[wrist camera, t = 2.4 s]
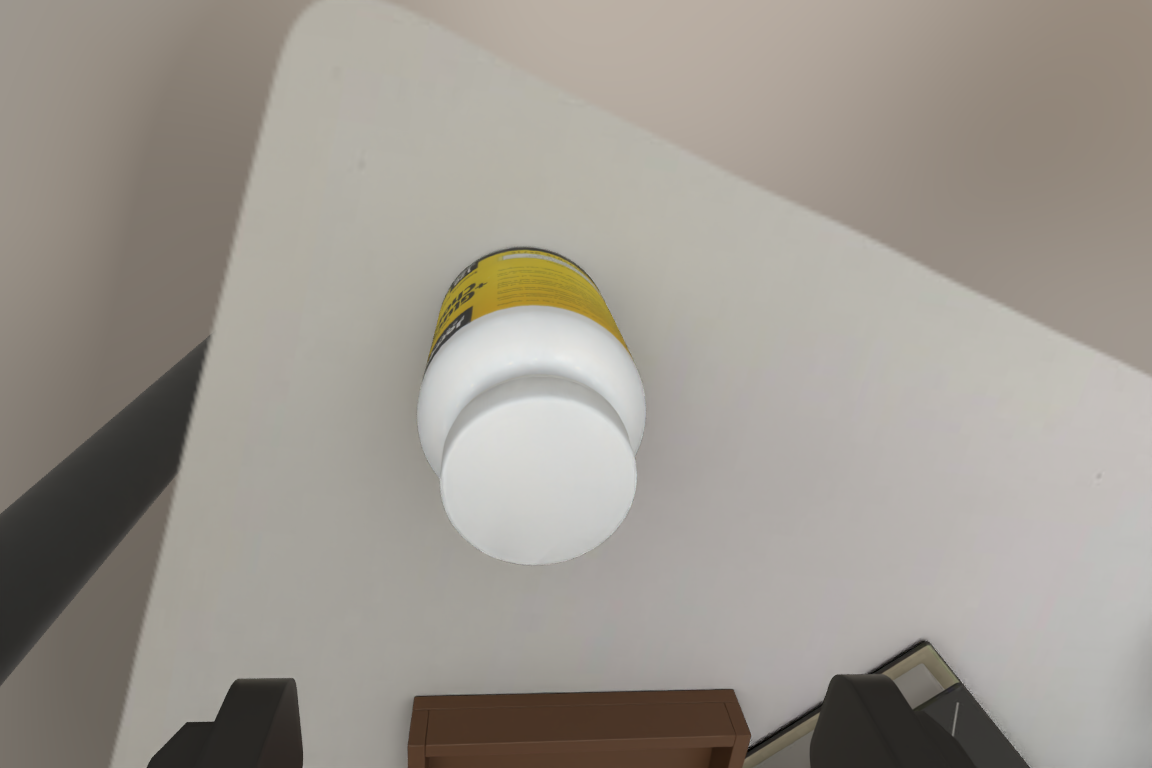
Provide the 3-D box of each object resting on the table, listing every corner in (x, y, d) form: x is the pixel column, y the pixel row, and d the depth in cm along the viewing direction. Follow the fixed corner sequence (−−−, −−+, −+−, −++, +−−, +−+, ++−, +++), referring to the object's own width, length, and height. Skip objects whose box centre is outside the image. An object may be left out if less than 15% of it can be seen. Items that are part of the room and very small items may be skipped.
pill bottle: (496, 207, 24) (495, 300, 14) (637, 300, 26) (731, 443, 16) (408, 349, 26) (347, 528, 16) (546, 426, 28) (576, 630, 18)
